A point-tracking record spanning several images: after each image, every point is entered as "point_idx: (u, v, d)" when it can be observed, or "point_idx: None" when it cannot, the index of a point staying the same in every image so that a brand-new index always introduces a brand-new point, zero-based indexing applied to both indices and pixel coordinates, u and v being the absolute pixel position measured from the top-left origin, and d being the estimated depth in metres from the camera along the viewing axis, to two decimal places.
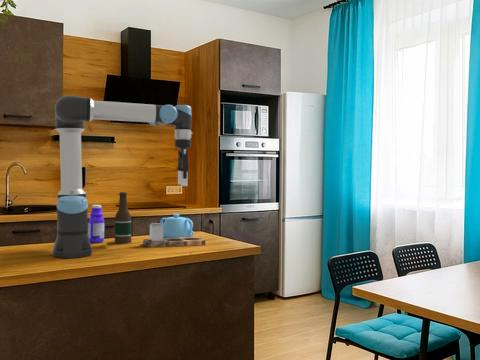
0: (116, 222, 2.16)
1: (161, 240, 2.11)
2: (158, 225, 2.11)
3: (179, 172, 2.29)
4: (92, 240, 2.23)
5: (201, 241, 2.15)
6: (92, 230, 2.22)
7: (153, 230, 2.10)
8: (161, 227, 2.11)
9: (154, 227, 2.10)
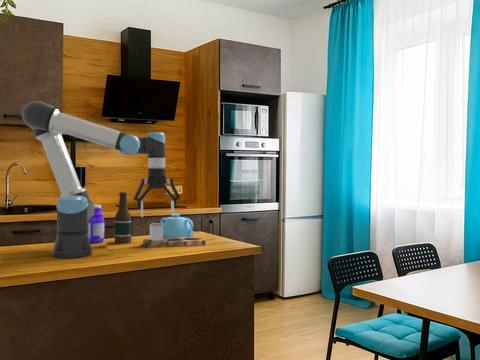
0: (116, 222, 2.16)
1: (161, 240, 2.11)
2: (158, 225, 2.11)
3: (171, 202, 2.15)
4: (92, 240, 2.23)
5: (201, 241, 2.15)
6: (92, 230, 2.22)
7: (153, 230, 2.10)
8: (161, 227, 2.11)
9: (154, 227, 2.10)
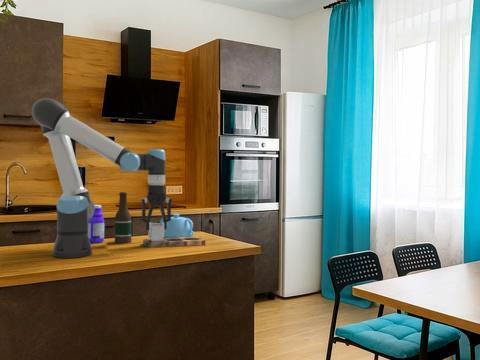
0: (116, 222, 2.16)
1: (161, 240, 2.11)
2: (158, 225, 2.11)
3: (161, 223, 2.14)
4: (92, 240, 2.23)
5: (201, 241, 2.15)
6: (92, 230, 2.22)
7: (153, 230, 2.10)
8: (161, 227, 2.11)
9: (154, 227, 2.10)
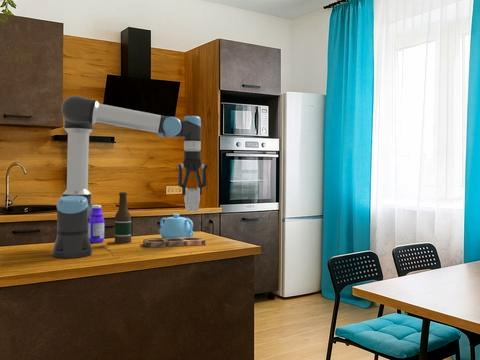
0: (116, 222, 2.16)
1: (197, 205, 2.16)
2: (194, 190, 2.15)
3: None
4: (92, 240, 2.23)
5: (201, 241, 2.15)
6: (92, 230, 2.22)
7: (189, 195, 2.15)
8: (197, 192, 2.16)
9: (190, 192, 2.15)
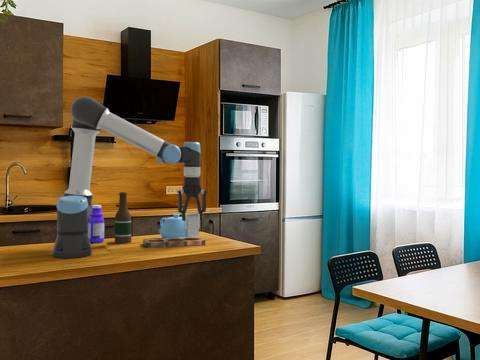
0: (116, 222, 2.16)
1: (197, 230, 2.16)
2: (194, 216, 2.16)
3: None
4: (92, 240, 2.23)
5: (201, 241, 2.15)
6: (92, 230, 2.22)
7: (189, 221, 2.15)
8: (197, 218, 2.16)
9: (190, 218, 2.15)
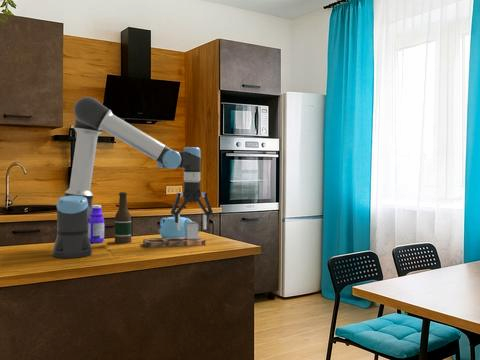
0: (116, 222, 2.16)
1: (196, 238, 2.16)
2: (194, 224, 2.16)
3: (203, 216, 2.20)
4: (92, 240, 2.23)
5: (201, 241, 2.15)
6: (92, 230, 2.22)
7: (189, 228, 2.15)
8: (196, 226, 2.16)
9: (190, 226, 2.15)
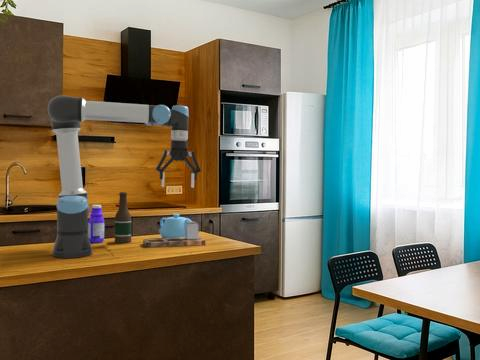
0: (116, 222, 2.16)
1: (196, 238, 2.16)
2: (194, 224, 2.16)
3: (191, 174, 2.21)
4: (92, 240, 2.23)
5: (201, 241, 2.15)
6: (92, 230, 2.22)
7: (189, 228, 2.15)
8: (196, 226, 2.16)
9: (190, 226, 2.15)
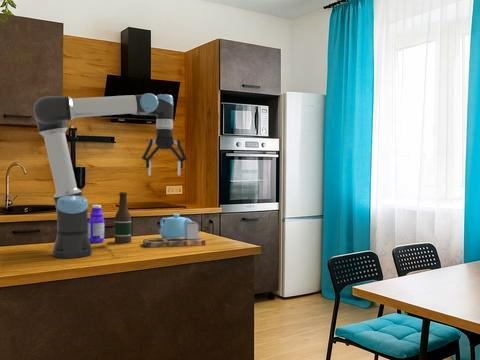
0: (116, 222, 2.16)
1: (196, 238, 2.16)
2: (194, 224, 2.16)
3: None
4: (92, 240, 2.23)
5: (201, 241, 2.15)
6: (92, 230, 2.22)
7: (189, 228, 2.15)
8: (196, 226, 2.16)
9: (190, 226, 2.15)
